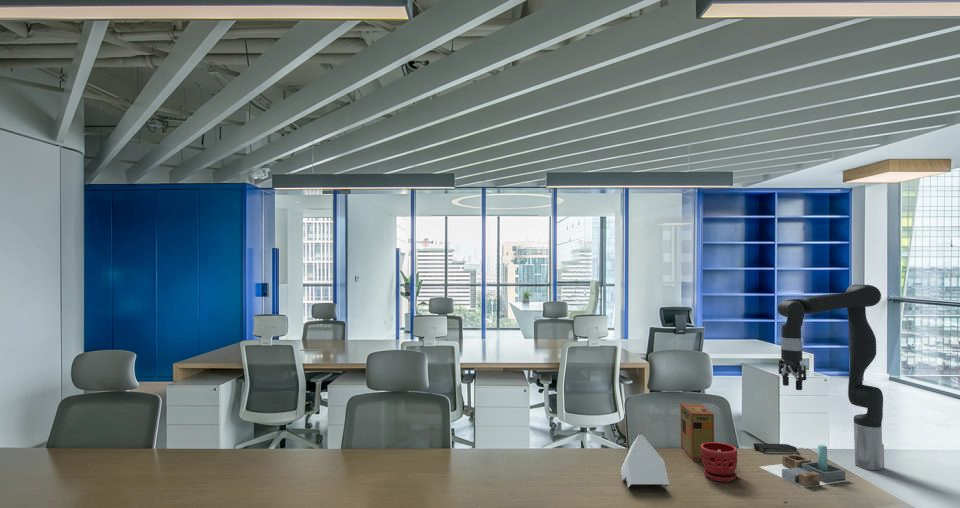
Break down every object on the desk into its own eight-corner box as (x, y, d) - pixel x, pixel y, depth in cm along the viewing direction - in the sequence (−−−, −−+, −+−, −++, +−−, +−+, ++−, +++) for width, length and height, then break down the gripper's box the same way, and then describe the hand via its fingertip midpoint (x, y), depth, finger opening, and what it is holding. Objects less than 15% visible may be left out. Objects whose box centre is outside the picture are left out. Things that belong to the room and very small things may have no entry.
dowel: (816, 473, 198) (815, 444, 198) (824, 473, 198) (823, 444, 198) (821, 476, 195) (821, 447, 195) (829, 476, 195) (828, 447, 195)
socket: (796, 463, 209) (795, 454, 209) (811, 470, 202) (811, 460, 203) (782, 465, 207) (782, 455, 207) (797, 472, 201) (797, 461, 201)
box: (681, 447, 233) (680, 403, 233) (701, 448, 232) (700, 403, 233) (692, 460, 216) (691, 413, 217) (714, 461, 215) (713, 413, 216)
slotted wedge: (660, 492, 193) (650, 444, 204) (669, 484, 184) (658, 434, 195) (624, 492, 193) (616, 444, 204) (631, 484, 184) (622, 434, 195)
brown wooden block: (814, 482, 191) (813, 471, 191) (819, 484, 188) (819, 473, 189) (799, 484, 189) (799, 473, 189) (804, 486, 187) (804, 475, 187)
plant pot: (737, 474, 202) (736, 443, 202) (738, 486, 190) (737, 454, 190) (701, 468, 207) (700, 439, 208) (700, 480, 195) (700, 449, 196)
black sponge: (761, 456, 222) (761, 448, 222) (752, 449, 230) (752, 441, 230) (799, 457, 221) (799, 448, 221) (788, 450, 230) (788, 442, 230)
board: (800, 464, 212) (800, 461, 212) (848, 484, 192) (848, 481, 192) (758, 469, 206) (758, 466, 206) (803, 490, 186) (803, 487, 186)
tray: (821, 470, 202) (821, 461, 203) (845, 480, 193) (845, 470, 193) (801, 472, 200) (801, 463, 200) (824, 482, 190) (824, 473, 190)
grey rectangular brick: (798, 475, 197) (798, 467, 198) (812, 481, 192) (812, 473, 192) (781, 477, 195) (781, 469, 196) (795, 483, 190) (794, 475, 190)
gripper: (812, 351, 204) (812, 391, 203) (789, 346, 218) (790, 384, 218) (793, 351, 204) (794, 391, 203) (772, 346, 218) (773, 384, 217)
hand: (792, 387), depth 210 cm, fingers open, 8 cm apart
